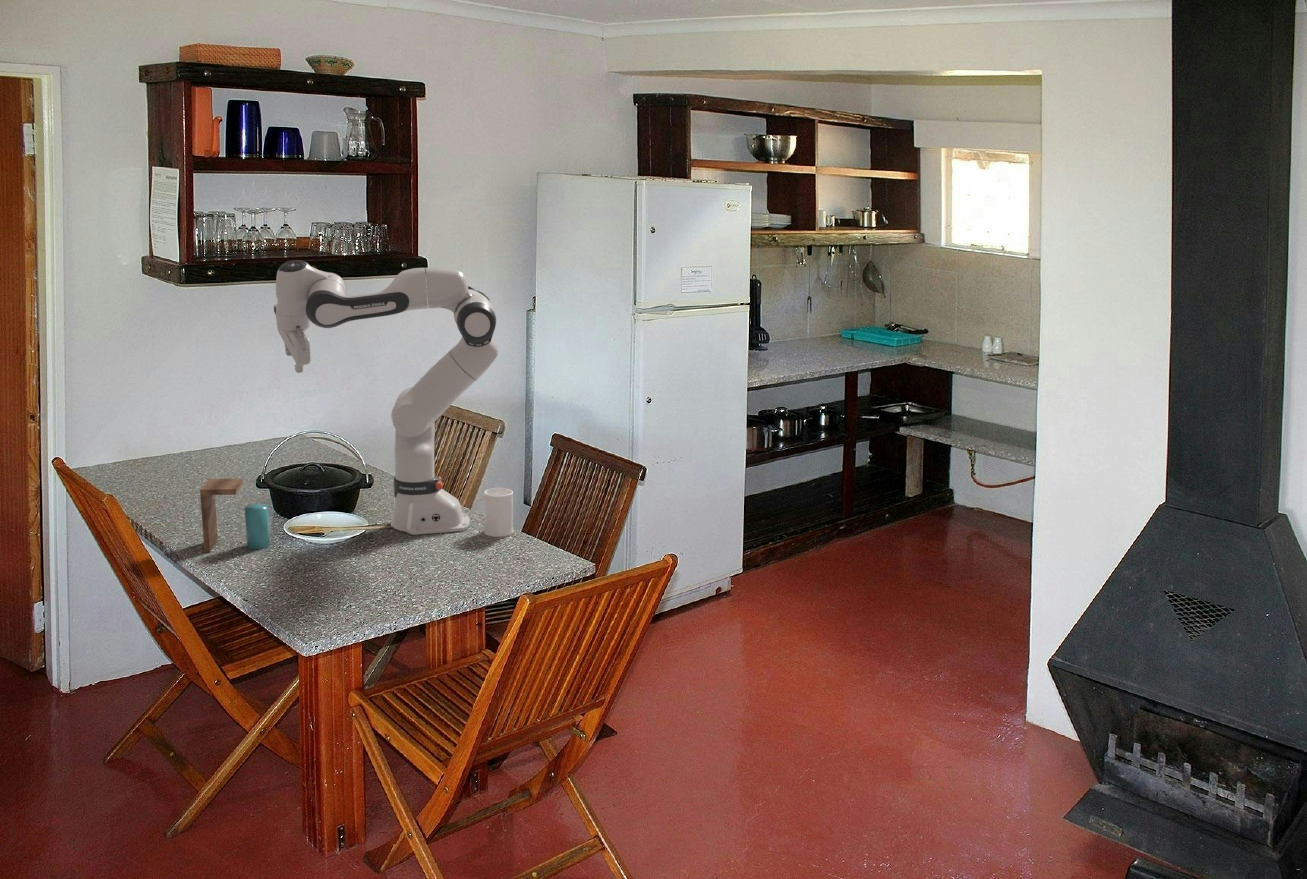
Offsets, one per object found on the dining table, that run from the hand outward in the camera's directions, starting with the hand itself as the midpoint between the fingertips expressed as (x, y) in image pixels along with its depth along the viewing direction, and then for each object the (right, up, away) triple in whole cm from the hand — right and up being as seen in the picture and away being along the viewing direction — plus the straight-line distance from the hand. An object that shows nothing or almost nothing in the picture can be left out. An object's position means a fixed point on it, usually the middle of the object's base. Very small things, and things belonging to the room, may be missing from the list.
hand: (294, 362), depth 324 cm
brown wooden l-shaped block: (-17, -50, -6) cm, 53 cm away
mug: (+53, -48, +12) cm, 72 cm away
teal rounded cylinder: (-8, -50, -5) cm, 51 cm away
